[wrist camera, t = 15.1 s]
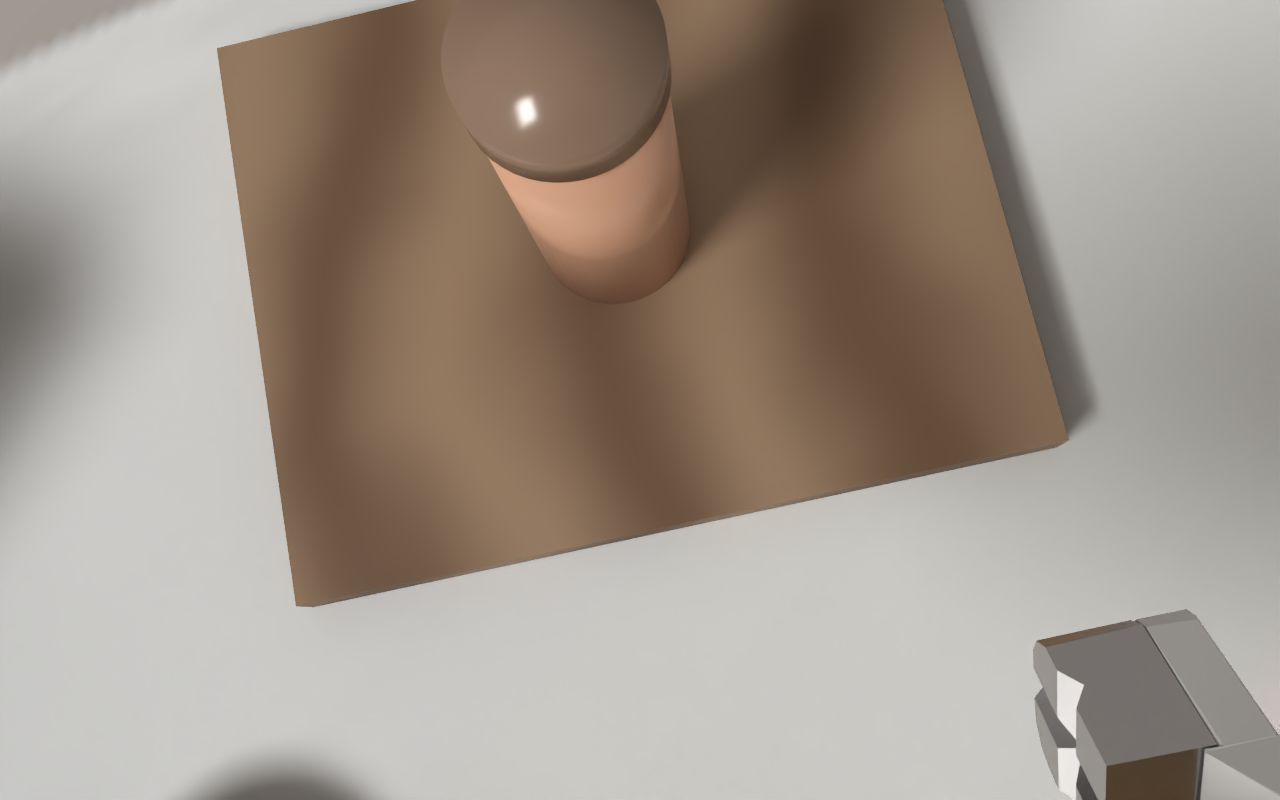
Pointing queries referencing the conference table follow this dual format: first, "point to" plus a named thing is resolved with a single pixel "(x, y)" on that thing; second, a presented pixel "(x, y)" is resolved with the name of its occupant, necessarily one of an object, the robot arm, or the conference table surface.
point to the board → (629, 332)
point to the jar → (577, 133)
